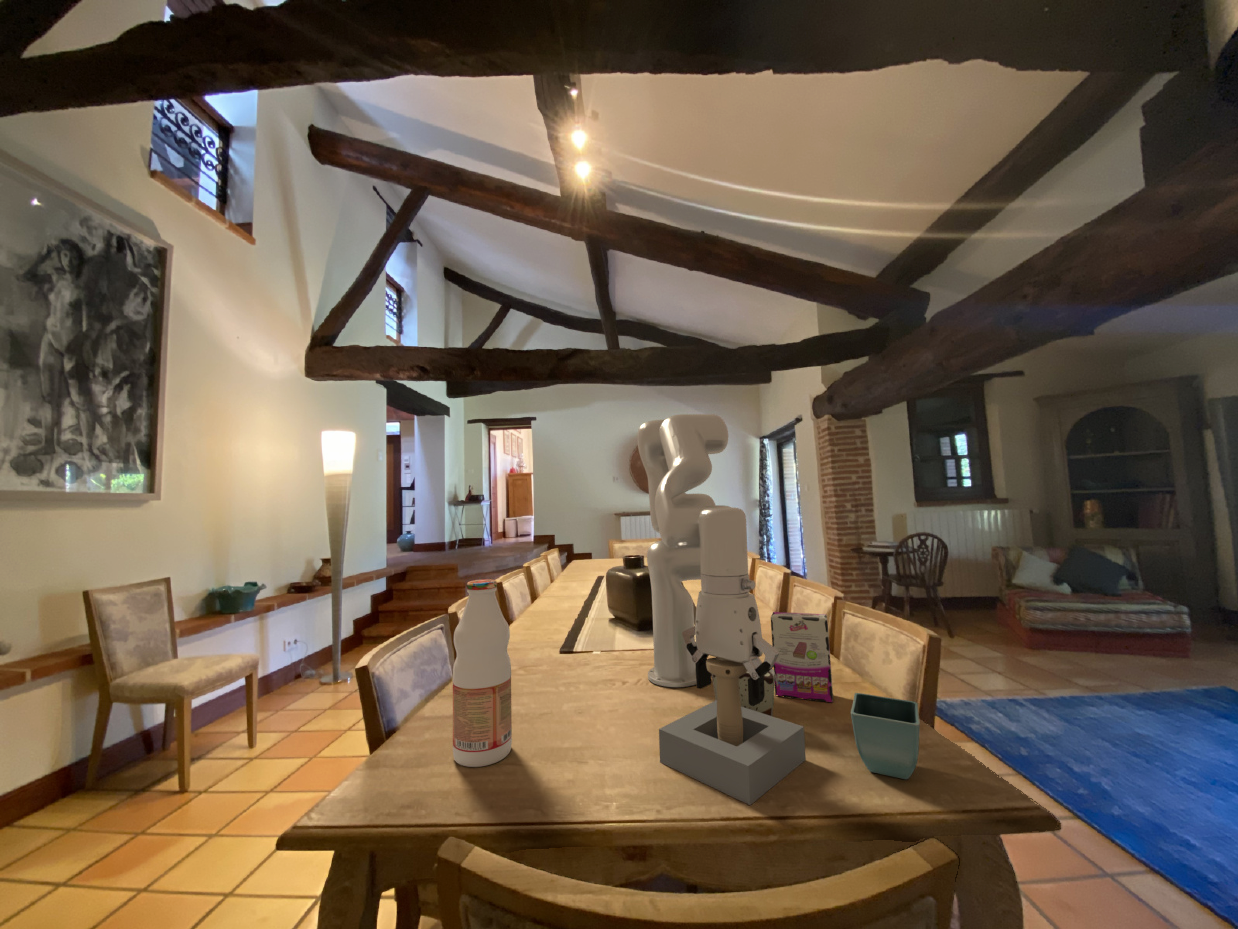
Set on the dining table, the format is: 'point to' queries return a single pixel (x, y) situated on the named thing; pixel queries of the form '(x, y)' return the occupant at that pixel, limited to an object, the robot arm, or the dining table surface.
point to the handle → (728, 699)
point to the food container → (762, 707)
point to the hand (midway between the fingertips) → (729, 694)
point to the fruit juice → (481, 680)
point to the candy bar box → (802, 656)
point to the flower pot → (886, 734)
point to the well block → (733, 751)
